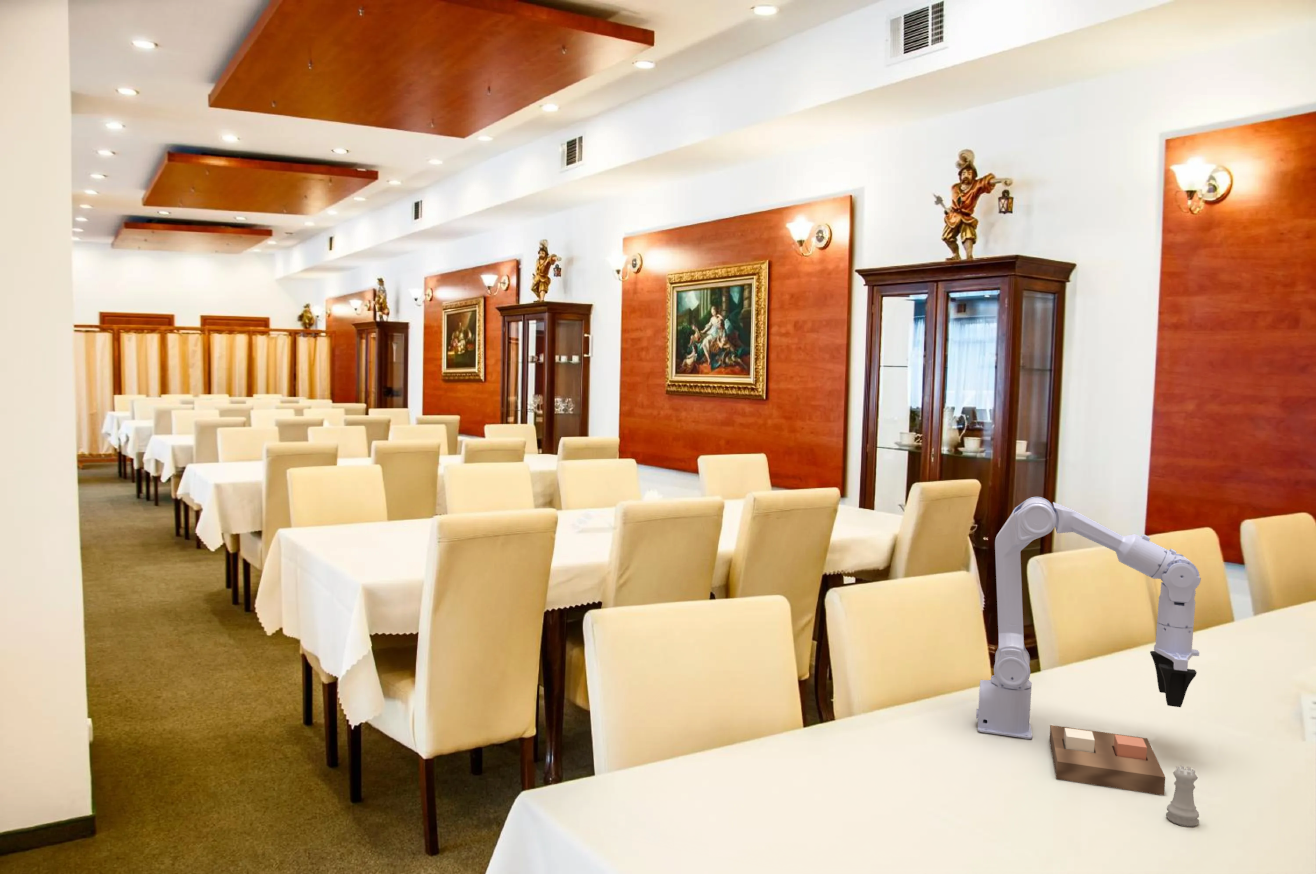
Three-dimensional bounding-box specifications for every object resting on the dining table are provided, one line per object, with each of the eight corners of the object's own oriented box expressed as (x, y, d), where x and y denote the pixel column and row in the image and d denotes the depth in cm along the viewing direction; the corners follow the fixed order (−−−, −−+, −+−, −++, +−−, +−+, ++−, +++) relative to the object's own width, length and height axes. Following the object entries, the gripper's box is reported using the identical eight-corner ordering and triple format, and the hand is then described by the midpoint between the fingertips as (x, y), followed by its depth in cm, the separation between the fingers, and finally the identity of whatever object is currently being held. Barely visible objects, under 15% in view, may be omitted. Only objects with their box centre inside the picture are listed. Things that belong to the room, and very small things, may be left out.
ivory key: (1065, 756, 165) (1066, 736, 164) (1063, 747, 169) (1064, 727, 168) (1093, 760, 163) (1094, 740, 163) (1090, 751, 167) (1091, 731, 167)
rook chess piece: (1195, 817, 146) (1199, 766, 146) (1201, 830, 142) (1205, 777, 141) (1163, 812, 148) (1166, 761, 147) (1168, 824, 143) (1171, 772, 143)
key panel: (1056, 779, 159) (1057, 761, 159) (1049, 741, 176) (1050, 724, 176) (1164, 795, 154) (1165, 777, 153) (1146, 754, 171) (1147, 738, 170)
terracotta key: (1116, 763, 162) (1118, 743, 162) (1113, 754, 166) (1114, 734, 166) (1145, 768, 161) (1146, 747, 160) (1141, 758, 165) (1142, 738, 164)
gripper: (1210, 636, 162) (1204, 715, 163) (1191, 617, 176) (1186, 689, 176) (1163, 631, 164) (1157, 709, 165) (1149, 612, 178) (1144, 684, 179)
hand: (1169, 699), depth 171 cm, fingers open, 7 cm apart
